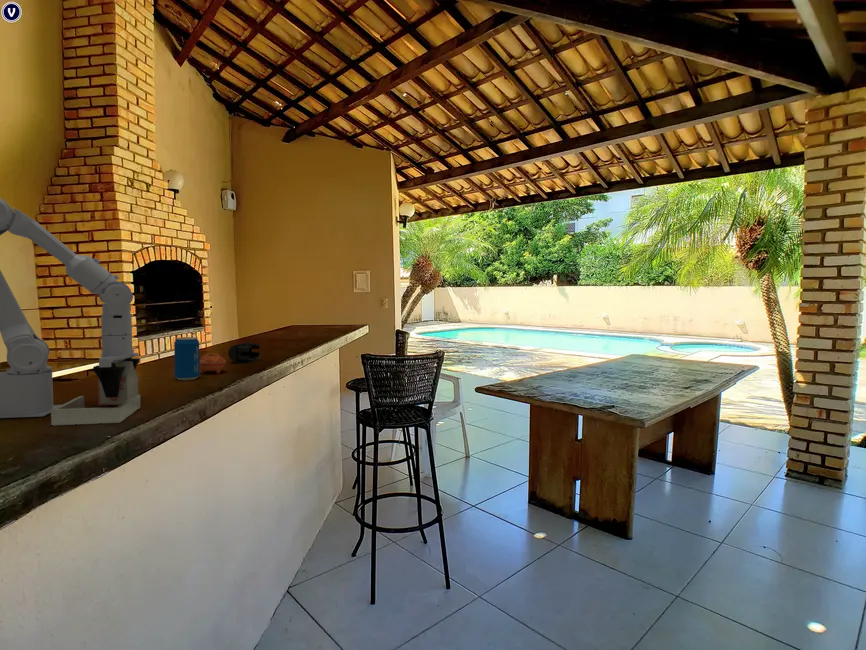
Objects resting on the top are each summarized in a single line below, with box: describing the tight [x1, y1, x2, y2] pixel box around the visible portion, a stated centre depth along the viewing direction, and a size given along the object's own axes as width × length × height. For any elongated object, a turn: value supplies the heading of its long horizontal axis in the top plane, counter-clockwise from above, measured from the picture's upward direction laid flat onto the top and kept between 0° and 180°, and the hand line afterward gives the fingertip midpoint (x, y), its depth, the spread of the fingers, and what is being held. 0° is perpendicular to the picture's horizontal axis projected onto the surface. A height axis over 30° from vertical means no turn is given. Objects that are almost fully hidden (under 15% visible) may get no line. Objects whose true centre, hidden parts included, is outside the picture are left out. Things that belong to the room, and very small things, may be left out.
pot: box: [200, 352, 227, 375], centre depth 145 cm, size 8×8×7 cm
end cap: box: [227, 341, 261, 365], centre depth 167 cm, size 10×7×7 cm
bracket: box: [50, 393, 141, 426], centre depth 96 cm, size 12×12×3 cm
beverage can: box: [173, 336, 201, 381], centre depth 135 cm, size 6×6×12 cm
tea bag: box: [97, 361, 139, 406], centre depth 106 cm, size 4×7×10 cm, turn 88°
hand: (118, 393), depth 106 cm, fingers open, 7 cm apart
